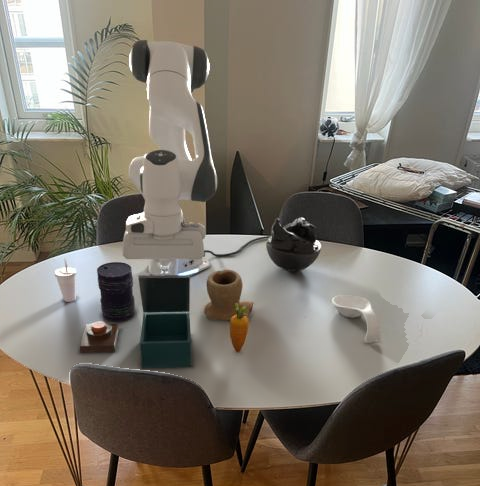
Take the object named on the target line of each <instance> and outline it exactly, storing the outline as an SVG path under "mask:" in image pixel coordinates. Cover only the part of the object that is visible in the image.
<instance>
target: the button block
mask: <svg viewBox="0 0 480 486" xmlns="http://www.w3.org/2000/svg"><path fill="white" fill-rule="evenodd" d="M104 323H105V326H106V331H104V332H102V333H94V332H93V331H92V324H93V323H86V324H85V326H84V330H83V333H82V336H81V339H80V343H79V346H78V347H79V352H80V354H84V353H85V354H89V353H116V348H117V345H118V344H117V343H118V338H119V334H120V333H119V332H120V325H119V324H120V323H119V322H111V323H107V322H104Z"/></svg>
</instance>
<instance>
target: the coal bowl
mask: <svg viewBox="0 0 480 486" xmlns="http://www.w3.org/2000/svg"><path fill="white" fill-rule="evenodd" d="M316 231H317V228H316V226H315V225H313V224H312V223H309V222H308V221H306V219H305V218H304V217H303V216H301V217H298V218H296V219H294V221H293V222H292V223H287V224H286V225H284V226H282V224H281V219H280V218H278V217H277V218H276V219H275V220H274V223H273V224H272V227H271V233H270V234H271V235H270V236H271V237H269V238H266V241H265V247H266V252H267V254H268V257H269V258H270V260H271V261H272V262H273V264H274V265H276V266H277V267H279V268H280V269H282V270H285V271H289V272H297V271H302V270H306V269H307V268H308V267H310V266H311V265H312V264H314V262H316V260H317V259H318V258H319V255H320V253H321V250H322V244H321V243H320V242H319V240H317V239H316V238H317V235H316Z"/></svg>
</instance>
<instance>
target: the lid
mask: <svg viewBox="0 0 480 486" xmlns="http://www.w3.org/2000/svg"><path fill="white" fill-rule="evenodd" d="M137 277H138V278H137V279H138V286H139V293H140V299H141V300H140V301H141V306H142V314H143V313H181V312H189V313H191V312H190V311H191V310H190V309H191V308H190V306H191V305H190V302H191V301H190V300H191V298H190V297H191V296H190V295H191V293H190V292H191V276H190V275H152V274H149V275H148V274H145V275H144V274H143V275H141V274H140V275H138V276H137Z"/></svg>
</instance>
